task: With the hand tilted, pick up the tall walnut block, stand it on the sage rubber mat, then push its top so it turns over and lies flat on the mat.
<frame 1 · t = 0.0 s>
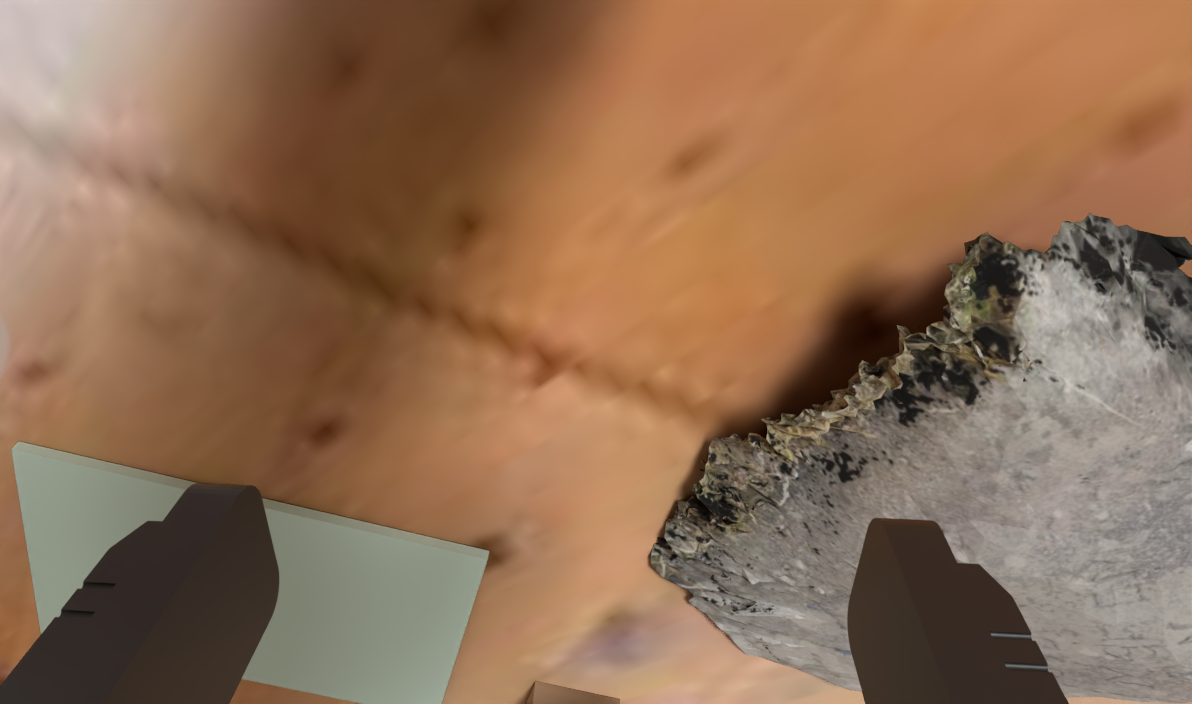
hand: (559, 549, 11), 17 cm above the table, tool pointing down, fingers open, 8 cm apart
mat: (254, 592, 38), on the table
stone fragment: (1028, 486, 33), on the table
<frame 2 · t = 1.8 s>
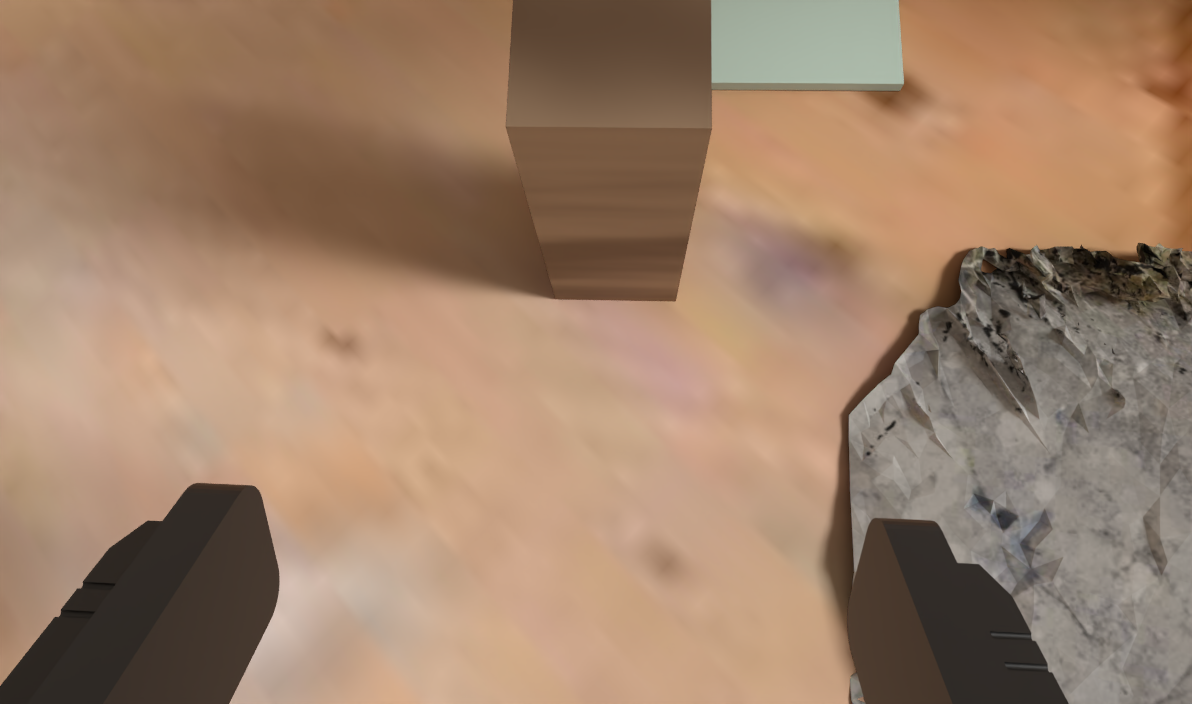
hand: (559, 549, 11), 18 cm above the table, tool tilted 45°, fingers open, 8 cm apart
walnut block: (616, 243, 31), on the table
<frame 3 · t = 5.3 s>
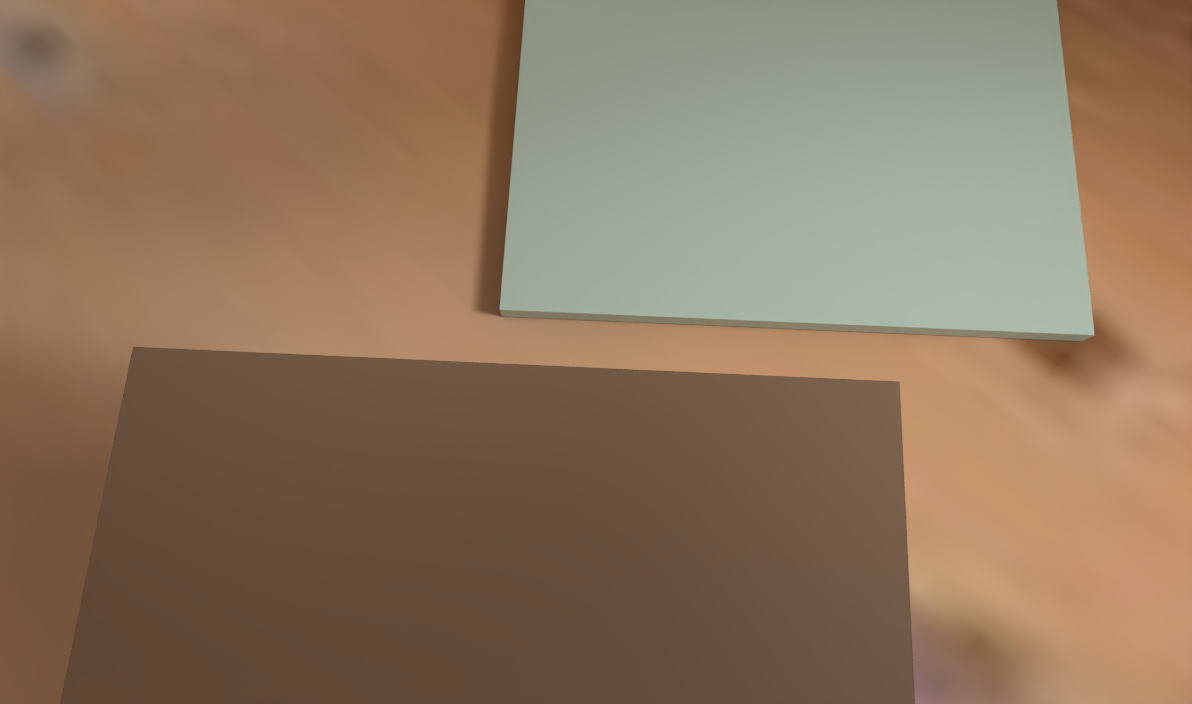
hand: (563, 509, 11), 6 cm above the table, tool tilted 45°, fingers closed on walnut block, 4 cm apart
walnut block: (574, 622, 17), on the table, touching gripper
when the fingers open (8 cm above the table, at t = 9.6 s): walnut block drops 1 cm, resting on mat.
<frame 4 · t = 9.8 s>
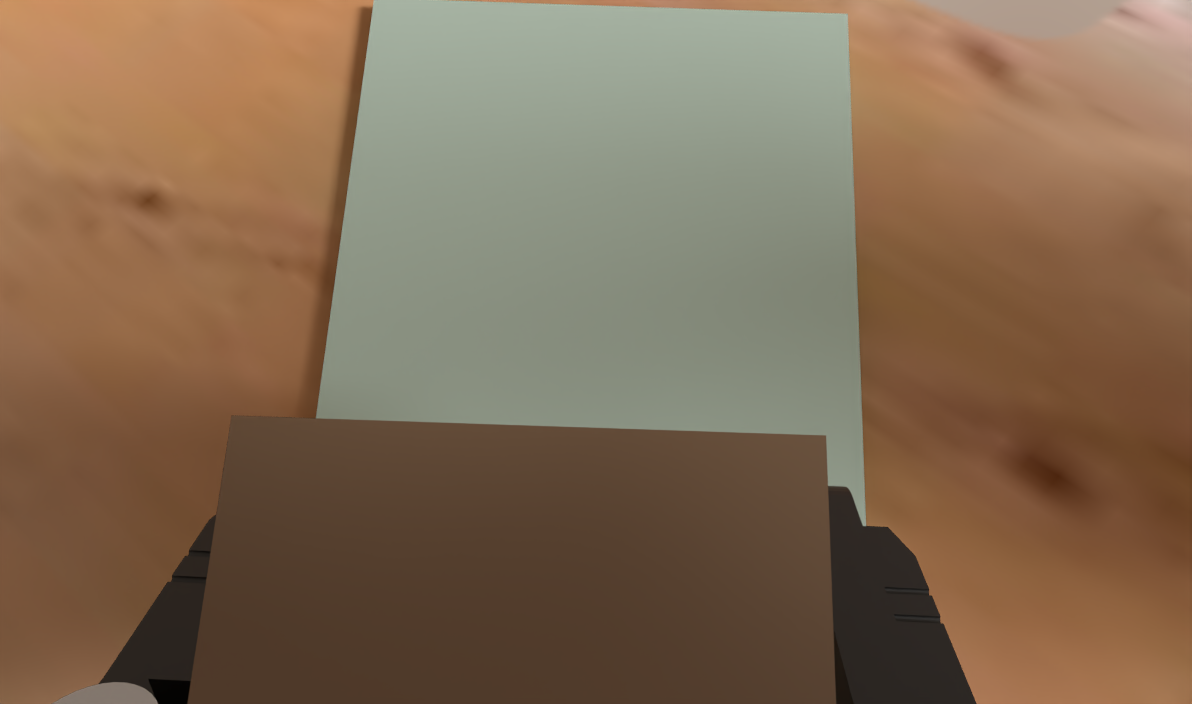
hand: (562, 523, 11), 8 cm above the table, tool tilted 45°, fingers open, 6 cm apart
mat: (591, 363, 20), on the table
walnut block: (576, 623, 18), resting on mat
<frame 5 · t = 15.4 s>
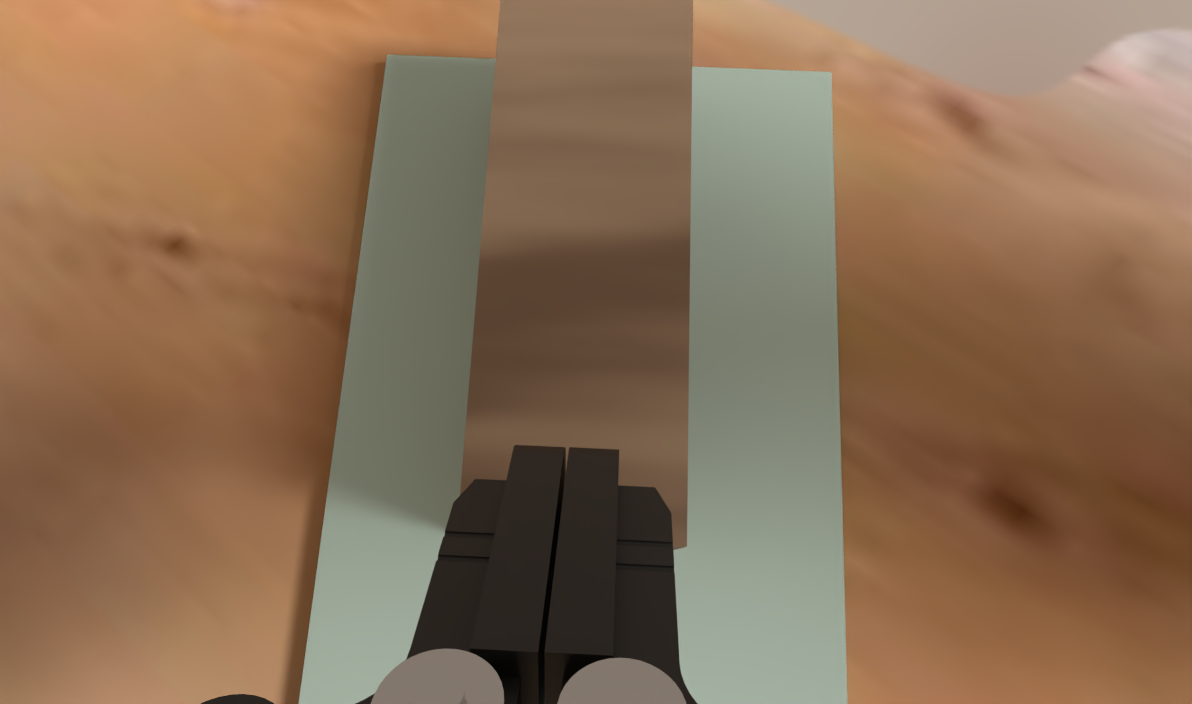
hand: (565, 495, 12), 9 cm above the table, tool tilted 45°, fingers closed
mat: (589, 402, 22), on the table
walnut block: (575, 545, 18), point 3 cm above the table, tilted 90°, touching mat
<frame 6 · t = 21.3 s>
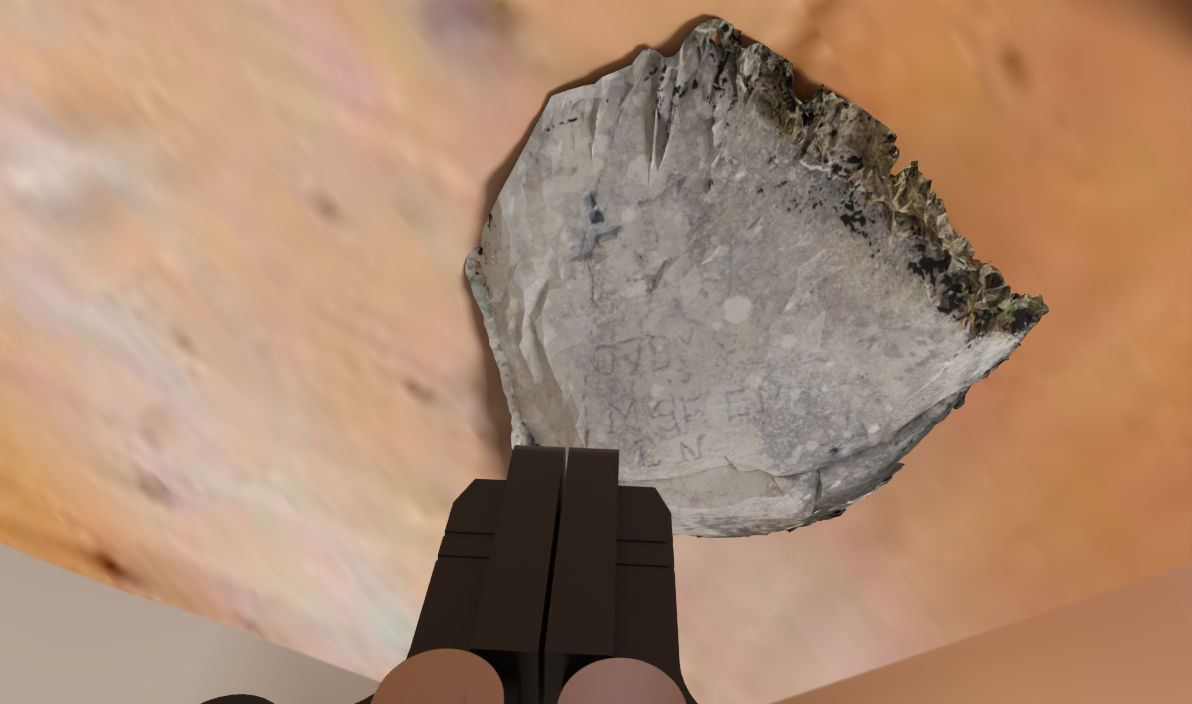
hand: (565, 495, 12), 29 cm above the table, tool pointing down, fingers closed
stone fragment: (709, 331, 44), on the table
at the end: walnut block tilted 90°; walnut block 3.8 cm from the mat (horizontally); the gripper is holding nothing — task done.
